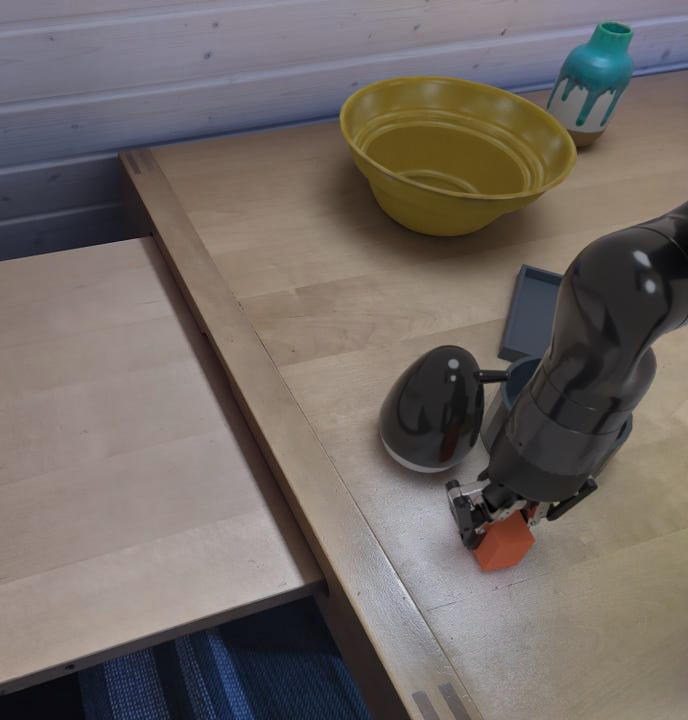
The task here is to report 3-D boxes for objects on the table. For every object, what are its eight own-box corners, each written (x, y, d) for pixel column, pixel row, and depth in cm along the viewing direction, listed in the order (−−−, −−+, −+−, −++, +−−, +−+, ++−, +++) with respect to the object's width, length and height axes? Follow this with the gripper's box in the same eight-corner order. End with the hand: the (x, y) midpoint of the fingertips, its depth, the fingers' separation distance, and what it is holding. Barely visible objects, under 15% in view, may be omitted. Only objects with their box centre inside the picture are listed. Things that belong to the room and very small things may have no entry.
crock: (565, 388, 85) (590, 348, 79) (627, 483, 76) (659, 445, 71) (461, 400, 83) (479, 360, 78) (512, 499, 74) (537, 461, 69)
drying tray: (517, 274, 98) (522, 263, 97) (618, 303, 95) (625, 292, 93) (497, 357, 88) (503, 346, 86) (610, 393, 84) (618, 382, 83)
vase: (525, 142, 122) (570, 28, 108) (546, 117, 128) (592, 7, 114) (587, 164, 118) (642, 49, 104) (606, 137, 124) (661, 25, 109)
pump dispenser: (463, 499, 74) (513, 409, 63) (364, 472, 76) (395, 379, 65) (470, 425, 80) (516, 331, 69) (378, 401, 82) (409, 306, 71)
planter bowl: (491, 147, 120) (519, 70, 110) (579, 272, 99) (624, 190, 89) (305, 155, 117) (316, 76, 107) (355, 285, 96) (375, 202, 86)
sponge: (490, 511, 72) (506, 484, 68) (516, 566, 68) (535, 540, 64) (457, 516, 72) (472, 489, 68) (482, 571, 68) (499, 546, 64)
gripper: (492, 484, 53) (433, 585, 66) (662, 461, 55) (573, 564, 68) (453, 407, 58) (405, 515, 71) (610, 388, 60) (536, 496, 73)
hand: (488, 538), depth 69 cm, fingers closed on sponge, 3 cm apart
